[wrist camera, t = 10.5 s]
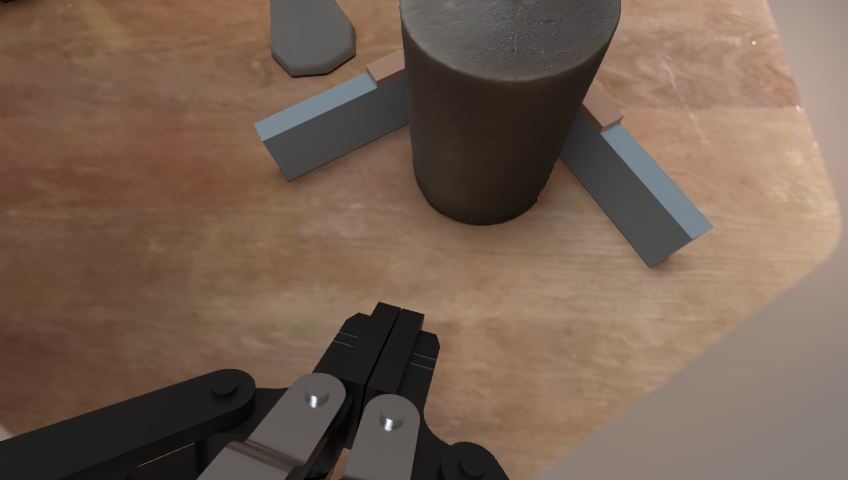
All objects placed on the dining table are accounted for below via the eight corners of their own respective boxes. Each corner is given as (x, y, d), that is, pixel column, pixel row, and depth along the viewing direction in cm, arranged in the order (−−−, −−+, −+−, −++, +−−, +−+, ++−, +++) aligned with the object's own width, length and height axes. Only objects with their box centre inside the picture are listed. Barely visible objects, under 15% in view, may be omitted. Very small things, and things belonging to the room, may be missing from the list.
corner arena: (408, 414, 25) (400, 416, 20) (280, 165, 31) (249, 117, 26) (667, 256, 28) (720, 222, 23) (503, 59, 35) (515, -3, 29)
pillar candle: (555, 224, 29) (663, 51, 15) (412, 227, 29) (391, 59, 15) (538, 108, 33) (614, -115, 19) (411, 112, 33) (394, -107, 19)
